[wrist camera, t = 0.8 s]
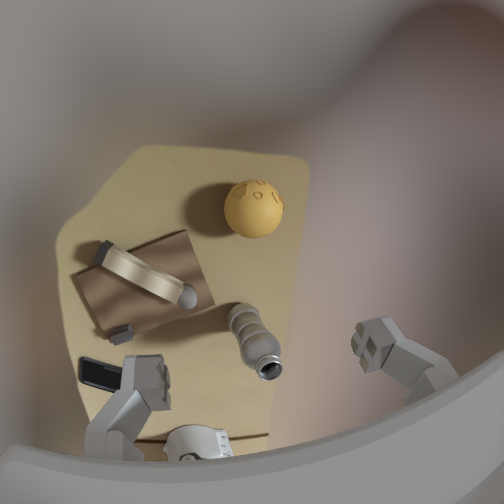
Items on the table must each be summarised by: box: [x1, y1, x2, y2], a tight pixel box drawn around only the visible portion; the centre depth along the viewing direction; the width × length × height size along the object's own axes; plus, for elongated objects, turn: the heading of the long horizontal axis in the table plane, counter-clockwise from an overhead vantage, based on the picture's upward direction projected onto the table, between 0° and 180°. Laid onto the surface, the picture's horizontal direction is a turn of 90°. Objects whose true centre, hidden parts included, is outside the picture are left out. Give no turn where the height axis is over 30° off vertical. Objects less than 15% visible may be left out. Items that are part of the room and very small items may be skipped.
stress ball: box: [224, 180, 284, 238], centre depth 48 cm, size 10×10×10 cm
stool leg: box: [93, 240, 197, 309], centre depth 47 cm, size 19×3×4 cm, turn 58°
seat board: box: [76, 229, 215, 346], centre depth 49 cm, size 15×23×5 cm, turn 108°
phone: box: [79, 356, 123, 393], centre depth 53 cm, size 8×1×15 cm
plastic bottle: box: [227, 303, 283, 381], centre depth 48 cm, size 6×7×20 cm
